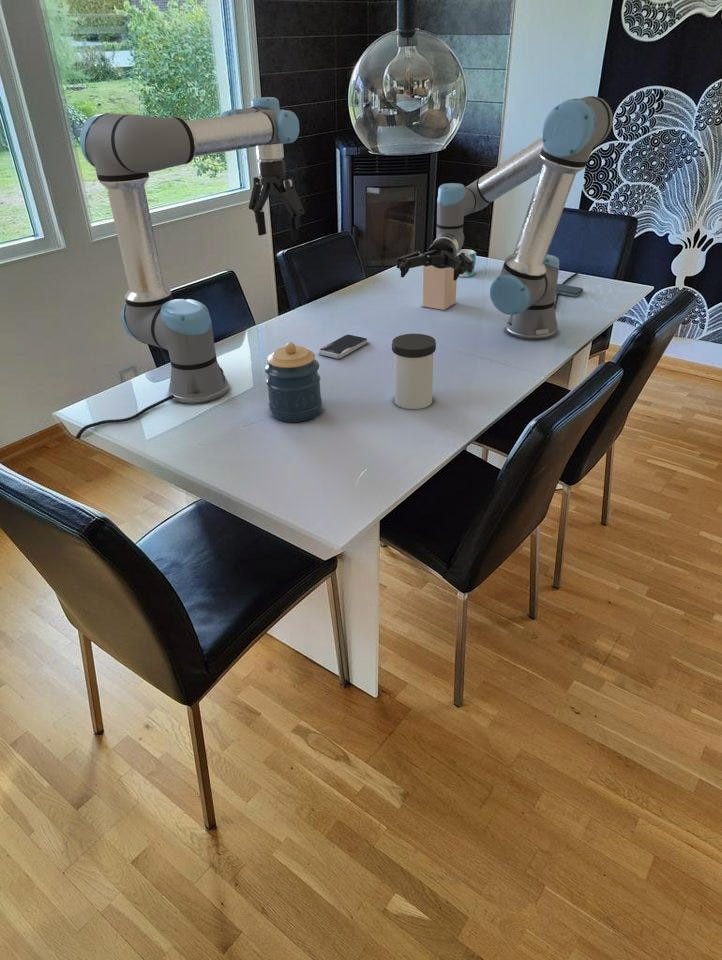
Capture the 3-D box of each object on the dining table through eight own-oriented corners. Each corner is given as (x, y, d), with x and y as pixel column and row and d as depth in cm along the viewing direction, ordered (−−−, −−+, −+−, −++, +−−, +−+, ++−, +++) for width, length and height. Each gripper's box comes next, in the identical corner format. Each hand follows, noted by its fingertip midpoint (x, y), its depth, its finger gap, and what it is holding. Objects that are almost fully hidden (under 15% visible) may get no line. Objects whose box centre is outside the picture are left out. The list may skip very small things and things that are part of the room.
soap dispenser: (444, 310, 225) (446, 242, 213) (422, 306, 229) (423, 239, 217) (461, 299, 234) (464, 233, 222) (439, 295, 238) (440, 231, 226)
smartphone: (368, 338, 202) (338, 355, 192) (368, 342, 203) (339, 359, 192) (347, 334, 206) (317, 350, 195) (347, 338, 206) (317, 354, 196)
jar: (440, 401, 168) (441, 343, 160) (411, 412, 163) (412, 353, 155) (414, 389, 175) (415, 333, 166) (386, 400, 170) (386, 342, 161)
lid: (444, 349, 161) (445, 341, 160) (411, 361, 155) (411, 353, 154) (415, 338, 168) (415, 330, 167) (383, 349, 162) (382, 340, 161)
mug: (449, 275, 259) (450, 253, 254) (462, 267, 267) (463, 245, 262) (469, 277, 255) (470, 255, 250) (481, 269, 263) (483, 247, 259)
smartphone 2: (577, 293, 230) (535, 286, 237) (576, 298, 231) (535, 291, 238) (584, 287, 236) (543, 280, 243) (583, 292, 237) (542, 285, 244)
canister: (275, 426, 159) (266, 357, 150) (266, 403, 170) (257, 337, 160) (328, 418, 162) (323, 349, 153) (316, 396, 173) (310, 330, 163)
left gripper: (313, 160, 186) (318, 239, 198) (249, 155, 199) (257, 230, 211) (295, 164, 181) (301, 245, 193) (230, 159, 194) (240, 235, 206)
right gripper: (487, 267, 186) (476, 291, 169) (399, 263, 192) (380, 285, 175) (489, 239, 182) (478, 260, 165) (399, 235, 188) (380, 256, 171)
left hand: (278, 237), depth 202 cm, fingers open, 13 cm apart
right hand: (428, 273), depth 170 cm, fingers open, 13 cm apart
